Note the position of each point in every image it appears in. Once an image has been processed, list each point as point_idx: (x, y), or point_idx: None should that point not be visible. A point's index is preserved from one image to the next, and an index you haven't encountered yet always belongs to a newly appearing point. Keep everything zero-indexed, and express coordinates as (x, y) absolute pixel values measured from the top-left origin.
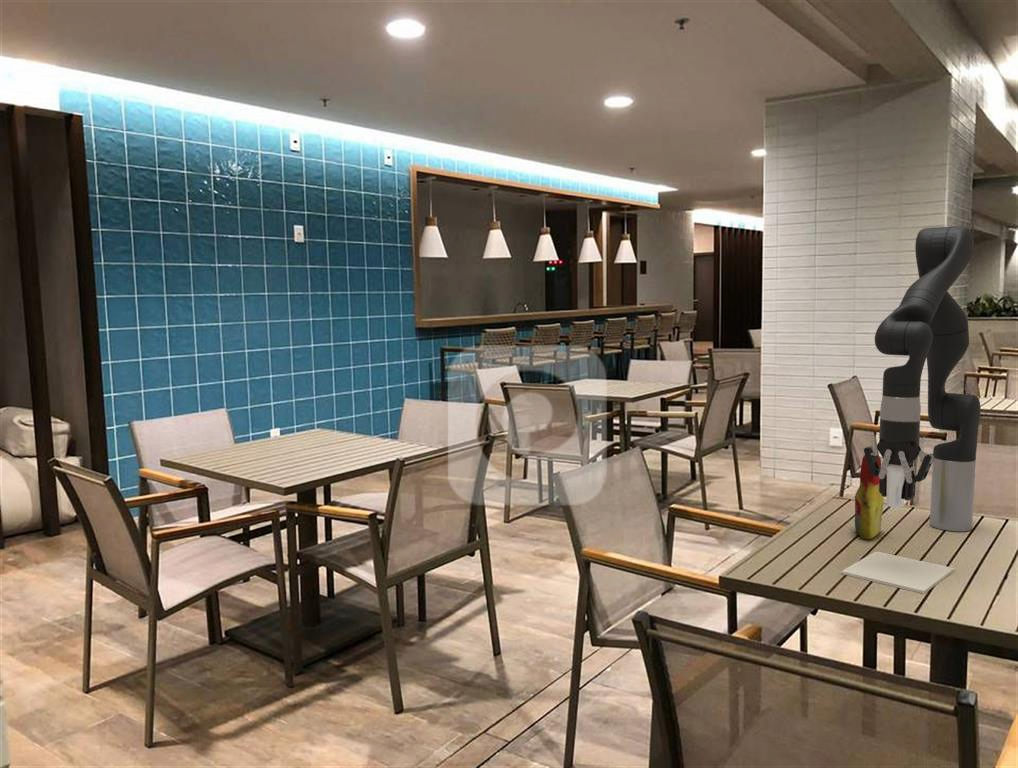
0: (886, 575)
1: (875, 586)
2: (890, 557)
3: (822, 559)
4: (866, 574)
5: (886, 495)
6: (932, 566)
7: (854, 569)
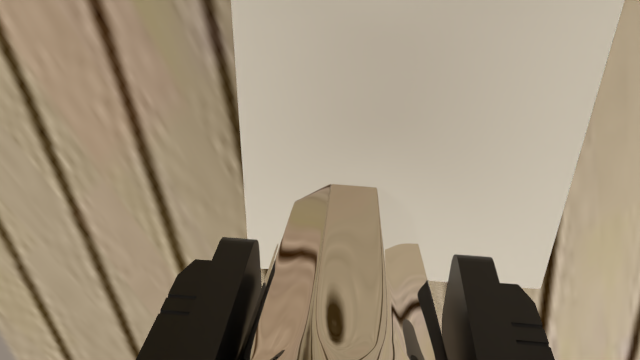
0: None
1: None
2: None
3: (117, 157)
4: None
5: (258, 285)
6: None
7: (274, 229)
